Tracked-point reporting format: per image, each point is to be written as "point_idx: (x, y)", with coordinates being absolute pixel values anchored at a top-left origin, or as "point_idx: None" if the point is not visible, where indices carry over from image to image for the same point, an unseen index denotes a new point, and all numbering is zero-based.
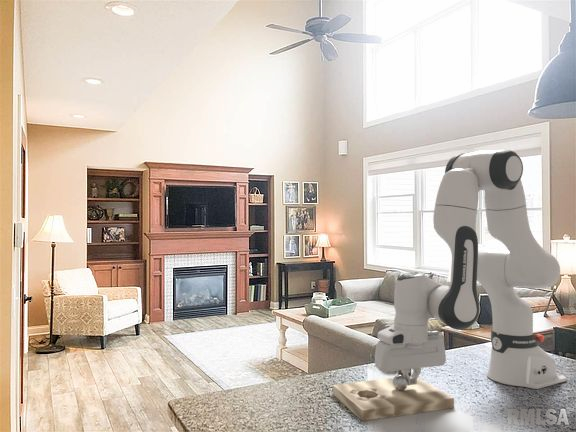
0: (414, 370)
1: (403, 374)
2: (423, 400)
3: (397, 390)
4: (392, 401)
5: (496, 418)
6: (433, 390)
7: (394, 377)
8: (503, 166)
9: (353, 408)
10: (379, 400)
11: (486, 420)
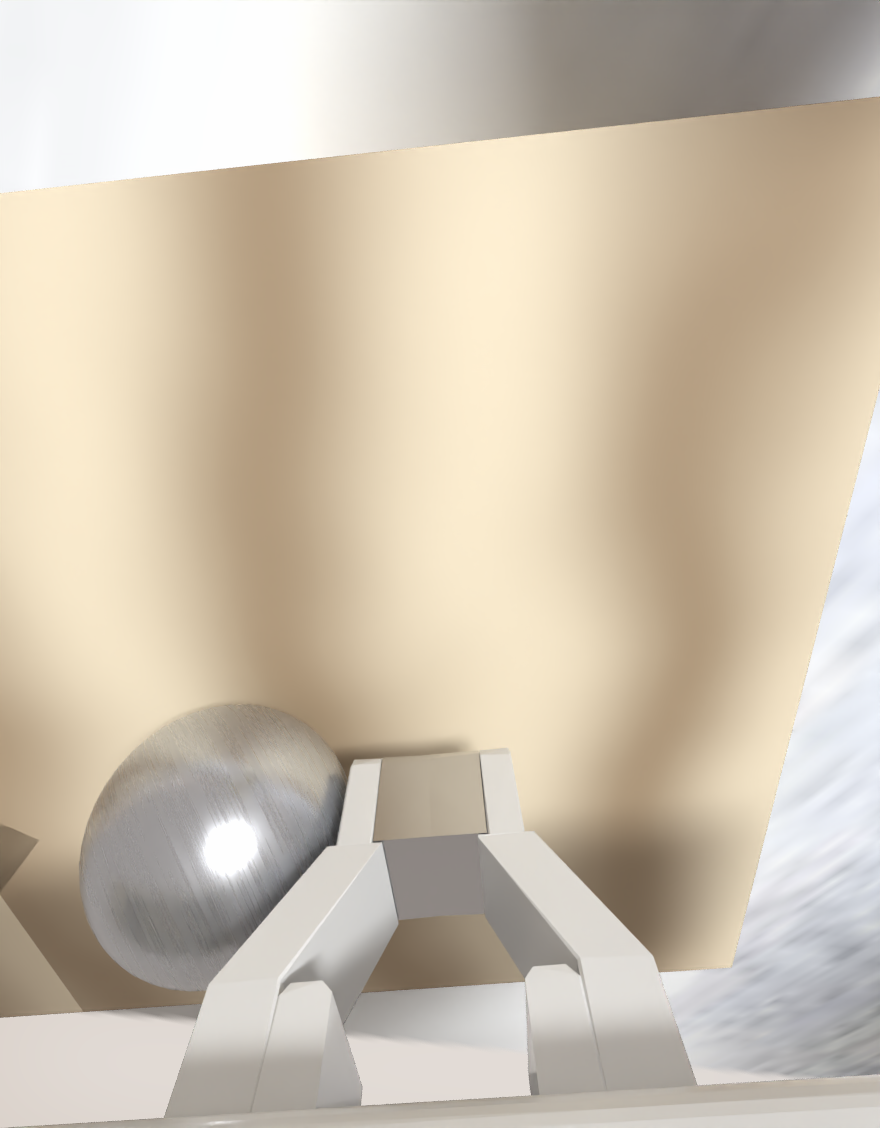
0: (528, 1042)
1: (281, 917)
2: (406, 968)
3: None
4: (85, 950)
5: (818, 1010)
6: (683, 812)
7: (83, 902)
8: None
9: None
10: None
11: (733, 1018)
